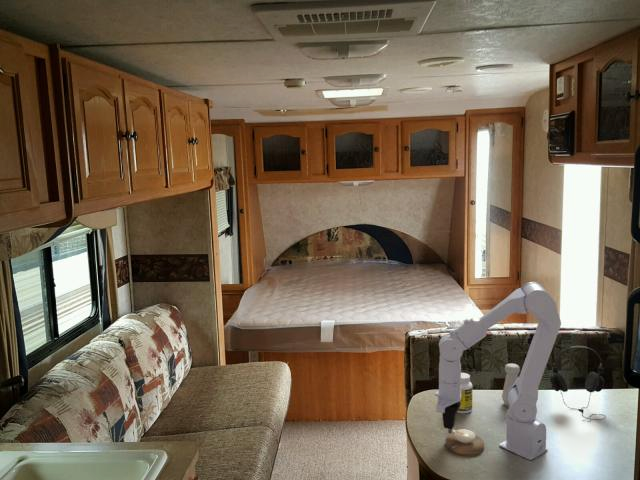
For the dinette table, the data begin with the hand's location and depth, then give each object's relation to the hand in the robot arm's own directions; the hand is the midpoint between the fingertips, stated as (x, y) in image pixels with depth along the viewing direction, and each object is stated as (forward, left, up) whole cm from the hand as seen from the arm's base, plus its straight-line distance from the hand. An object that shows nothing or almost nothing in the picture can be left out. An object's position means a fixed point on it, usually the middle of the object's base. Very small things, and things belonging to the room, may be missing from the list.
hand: (449, 427), depth 148 cm
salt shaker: (+2, -32, -5) cm, 33 cm away
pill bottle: (+10, -18, -5) cm, 22 cm away
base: (-4, -2, -5) cm, 6 cm away
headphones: (-14, -42, -5) cm, 45 cm away
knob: (-3, -2, -2) cm, 4 cm away
